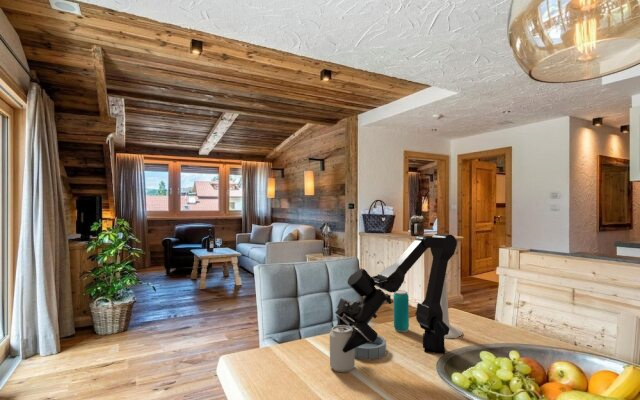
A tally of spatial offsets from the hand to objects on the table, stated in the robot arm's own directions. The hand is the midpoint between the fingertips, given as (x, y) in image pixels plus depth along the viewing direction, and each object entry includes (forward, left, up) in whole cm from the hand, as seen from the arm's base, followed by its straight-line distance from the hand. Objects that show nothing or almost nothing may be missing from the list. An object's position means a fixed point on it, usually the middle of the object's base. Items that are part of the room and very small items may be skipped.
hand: (337, 346), depth 106 cm
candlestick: (-32, -40, -7) cm, 52 cm away
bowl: (-6, -15, -7) cm, 17 cm away
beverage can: (-16, -38, -7) cm, 42 cm away
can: (-1, -1, -7) cm, 7 cm away
